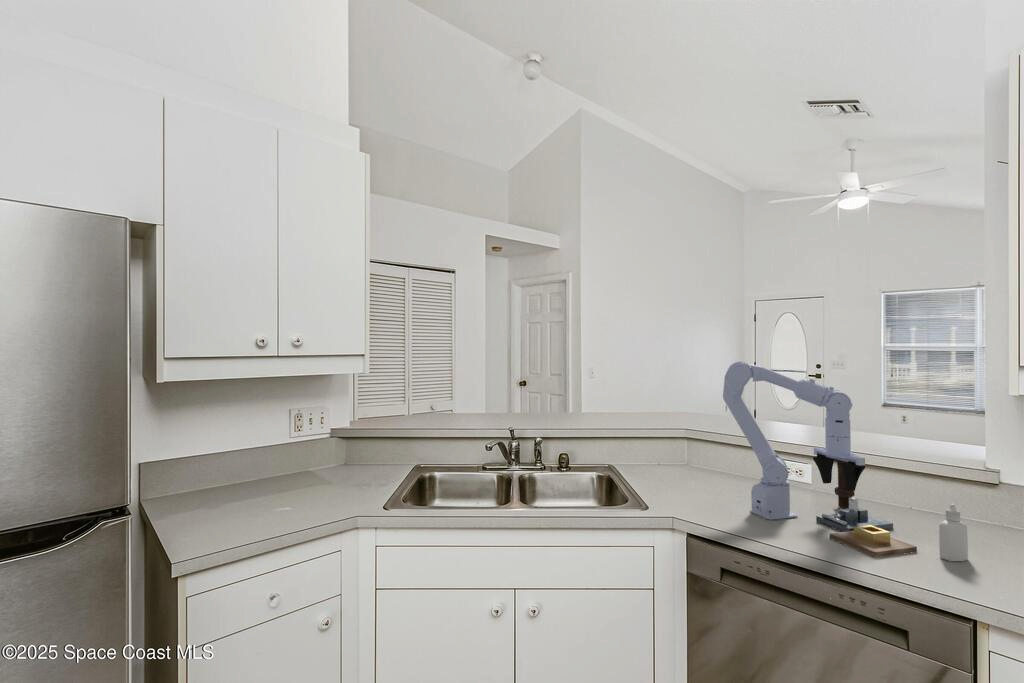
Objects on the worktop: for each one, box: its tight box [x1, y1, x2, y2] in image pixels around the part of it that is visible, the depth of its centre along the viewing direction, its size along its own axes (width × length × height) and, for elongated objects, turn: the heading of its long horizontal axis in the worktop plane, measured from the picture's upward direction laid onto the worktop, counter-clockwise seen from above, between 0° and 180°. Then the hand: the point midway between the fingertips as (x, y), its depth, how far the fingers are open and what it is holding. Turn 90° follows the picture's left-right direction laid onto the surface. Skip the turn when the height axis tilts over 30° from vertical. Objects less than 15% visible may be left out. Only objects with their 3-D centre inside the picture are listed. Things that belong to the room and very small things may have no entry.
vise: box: [815, 497, 894, 532], centre depth 136 cm, size 14×10×7 cm
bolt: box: [834, 459, 855, 509], centre depth 151 cm, size 6×5×15 cm
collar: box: [854, 525, 891, 545], centre depth 122 cm, size 5×5×2 cm
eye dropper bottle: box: [938, 503, 969, 562], centre depth 114 cm, size 4×6×12 cm
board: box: [829, 531, 918, 559], centre depth 122 cm, size 12×12×1 cm
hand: (838, 486), depth 139 cm, fingers open, 7 cm apart
